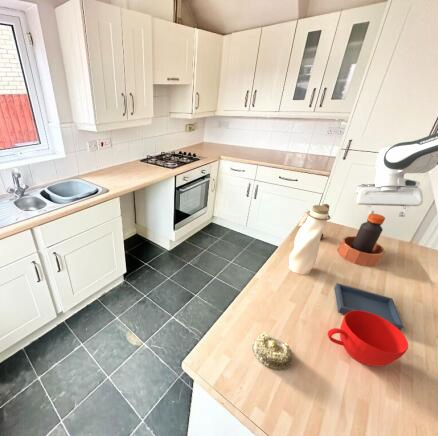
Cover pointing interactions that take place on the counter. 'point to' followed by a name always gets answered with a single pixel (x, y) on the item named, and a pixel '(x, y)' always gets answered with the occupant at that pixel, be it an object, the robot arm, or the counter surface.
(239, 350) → the counter surface
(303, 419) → the counter surface
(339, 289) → the tray
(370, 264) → the bowl
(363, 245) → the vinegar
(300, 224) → the water bottle
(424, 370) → the counter surface
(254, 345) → the seeded bagel
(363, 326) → the ceramic cup
